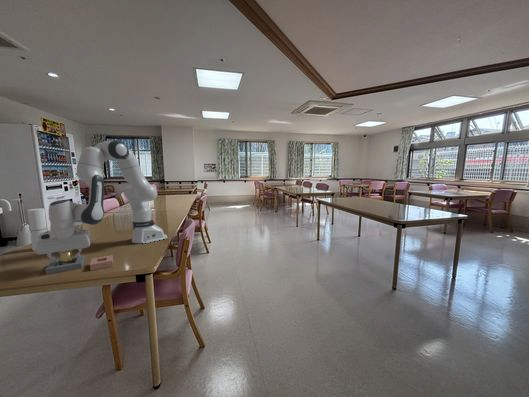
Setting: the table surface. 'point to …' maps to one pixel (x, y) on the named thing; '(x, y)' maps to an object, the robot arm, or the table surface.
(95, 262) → the small socket
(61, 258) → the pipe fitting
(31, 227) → the cylindrical container
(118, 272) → the table surface
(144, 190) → the robot arm
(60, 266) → the socket block
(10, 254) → the table surface
